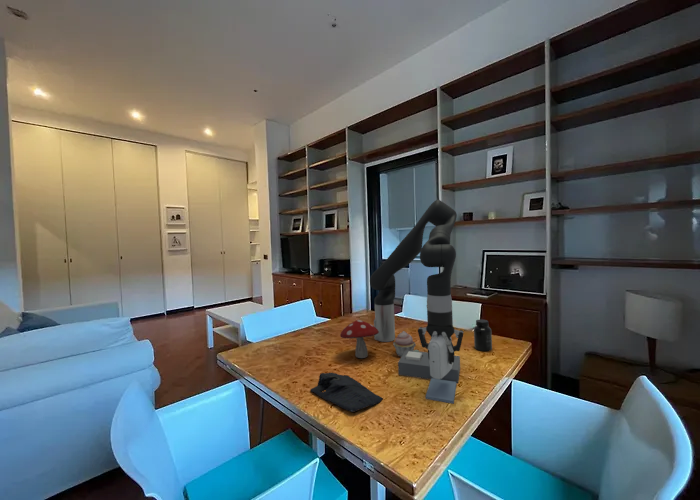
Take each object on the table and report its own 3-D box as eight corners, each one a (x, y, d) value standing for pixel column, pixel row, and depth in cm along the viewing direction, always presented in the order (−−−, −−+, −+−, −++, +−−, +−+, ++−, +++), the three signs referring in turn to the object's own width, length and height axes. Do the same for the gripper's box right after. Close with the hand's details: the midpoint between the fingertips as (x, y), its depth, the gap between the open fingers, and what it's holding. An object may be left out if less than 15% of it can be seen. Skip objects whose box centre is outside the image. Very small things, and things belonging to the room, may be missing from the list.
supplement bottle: (488, 345, 127) (487, 318, 127) (494, 351, 120) (494, 323, 120) (472, 345, 128) (471, 318, 127) (477, 351, 121) (476, 323, 120)
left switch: (405, 362, 106) (405, 356, 106) (408, 357, 111) (408, 351, 111) (419, 364, 104) (419, 358, 104) (422, 358, 109) (422, 352, 109)
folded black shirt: (347, 422, 79) (346, 405, 79) (307, 390, 96) (306, 376, 96) (387, 401, 88) (387, 386, 88) (344, 376, 106) (343, 363, 106)
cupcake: (410, 349, 127) (410, 326, 126) (419, 357, 118) (418, 333, 117) (390, 351, 125) (389, 328, 125) (397, 360, 116) (396, 335, 116)
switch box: (398, 374, 104) (397, 360, 104) (406, 361, 115) (405, 347, 115) (458, 383, 96) (457, 367, 96) (460, 368, 107) (459, 353, 107)
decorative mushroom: (334, 360, 119) (332, 324, 118) (352, 346, 133) (350, 314, 132) (370, 367, 111) (368, 328, 110) (385, 351, 125) (383, 317, 125)
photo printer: (441, 381, 86) (440, 339, 86) (428, 377, 89) (426, 337, 89) (454, 368, 94) (453, 330, 94) (441, 364, 97) (440, 328, 97)
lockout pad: (425, 398, 88) (425, 396, 88) (431, 380, 99) (431, 378, 99) (453, 403, 85) (453, 401, 85) (456, 384, 96) (456, 381, 96)
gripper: (464, 306, 92) (466, 360, 92) (418, 304, 97) (420, 354, 98) (463, 312, 85) (465, 370, 85) (414, 310, 90) (415, 364, 91)
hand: (441, 361), depth 92 cm, fingers closed on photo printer, 5 cm apart
